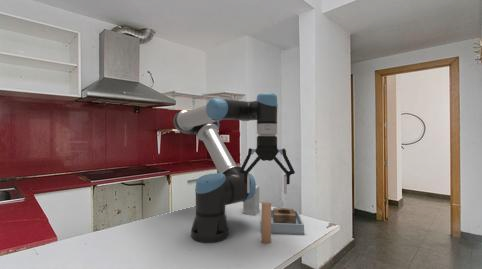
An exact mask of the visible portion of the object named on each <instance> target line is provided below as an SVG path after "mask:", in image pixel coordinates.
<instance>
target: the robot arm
mask: <svg viewBox="0 0 482 269" xmlns="http://www.w3.org/2000/svg"><path fill="white" fill-rule="evenodd" d="M278 106H279V104H278V96H277V95H276V94H275V93H272V92H271V93H270V92H264V93H263V92H261V93H258V94H257V95H256V100H254V101H253V100H252V101H244V100H238V99H237V100H236V99H235V100H234V99H228V98H220V97H218V98H214V97H213V98H210V99H209V100H208V101H207V103H206V104H205V105H202V106H199V107H195V108H193V109H190V110H187V109H184V110H181V111H179V112H177V113H176V114H175V115H174V117H173V120H172V123H173V126H174V127H175V129H176V130H177V131H178V132H180V133H183V134H187V135H188V134H189V135H190V134H191V135H196V136H197V138H198V139H199V141H202V142H203V143H204V146H205V147H206V150H207V152H208V153H209V155H210V158H211V160H212V162H213V164H214V165H215V168H216V169H217V171H218V172H215V173H207V174H204V175H201V176H200V177H198V178H197V180H196V181H195V189H194V190H195V191H194V192H195V216H194V220H193V222H192V226H191V231H190V234H191V235H190V237H191V238H192V240H195V241H197V242H199V243H200V242H201V243H217V242H220V241H224V240H226V239H227V238H229V236H230V225H229V223H228V220H227V216H226V206H228V205H232V204H237V203H243V202H244V201H246V200H249V199H251V198H252V197H253V196H254V194H255V190H256V185H257V183H256V179H255V177H254V176H253V175H252V174H251V173H250V172H251V171H252V170H253V169H254V167H255V166H256V165H257V164H258V163H259V162H260V160H261V161H264V162H265V161H268V162H271V161H274V162H275V163H276V164H277V165H278V166H279V168H280V169H281V170H282V171H283V172H284V173H285V174H283V194H284V195H286V194H287V192H288V190H287V189H288V187H287V185H290V181H291V177H290V176H292V175H294V174H295V173H296V172H295V170H294V167H293V165H292V164H291V162H290V160H289V158H288V154H287V150H286V148H284V147H283V148H281V149H280V148H278V137H277V136H276V135H277V134H278ZM223 120H224V121H225V120H228V121H229V120H233V121H243V122H249V121H256V135H257V136H256V148H251V147H250V148H248V150H247V155H246V157H245V159H244V161H243V163H242V165H237V164H236V162H235V160H234V158H233V157H232V155H231V153H230V152H229V150H228V148H227V146H226V145H225V143H224V141H223V138H222V137H221V136H220V134H219V131H220V130H219V129H220V121H223ZM254 153H255V154H256V155H257V156H256V158H255V159H254V160H253V161H252V162H251V164H250V165H249V166H248V167H247V168H246V166H247V164H248V163H249V160H250V158H251V156H252V155H254ZM278 154H280V155H281V156H282V158H283V159H284V162H285V163H286V166H287V167H288V169H289V171H288V169H287V168H286V167H285V166H284V165H283V164H282V162H281V161H280V159H279V158H278V157H277V155H278ZM245 168H246V170H245Z"/></svg>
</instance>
